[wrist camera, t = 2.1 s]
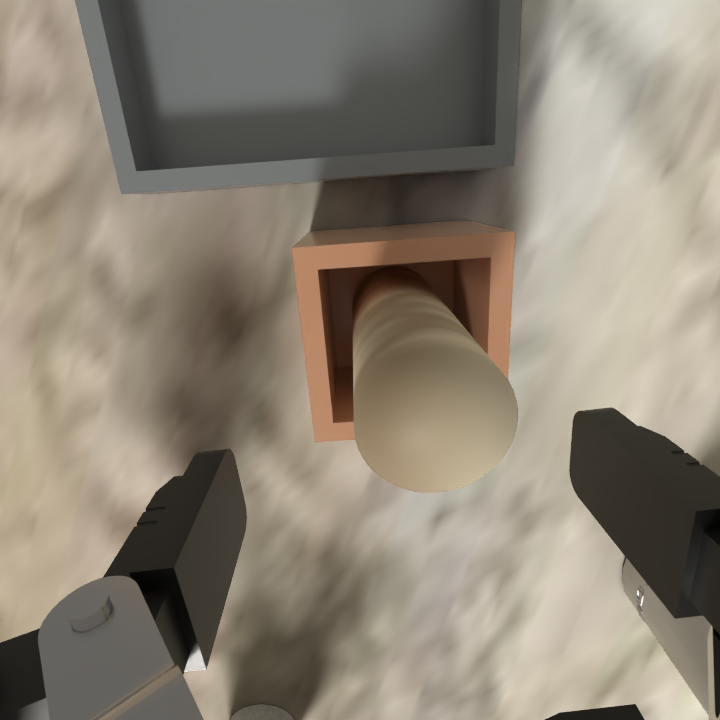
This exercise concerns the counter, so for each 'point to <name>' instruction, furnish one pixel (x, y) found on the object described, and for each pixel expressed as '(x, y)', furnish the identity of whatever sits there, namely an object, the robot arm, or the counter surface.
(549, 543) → the counter surface
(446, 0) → the tray
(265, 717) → the house plant
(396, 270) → the peg
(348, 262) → the terracotta open box
